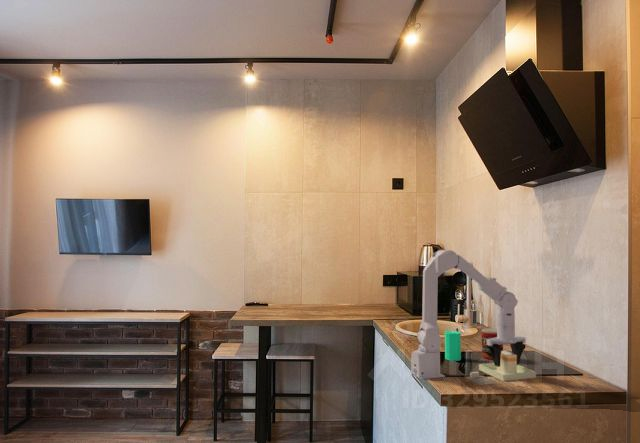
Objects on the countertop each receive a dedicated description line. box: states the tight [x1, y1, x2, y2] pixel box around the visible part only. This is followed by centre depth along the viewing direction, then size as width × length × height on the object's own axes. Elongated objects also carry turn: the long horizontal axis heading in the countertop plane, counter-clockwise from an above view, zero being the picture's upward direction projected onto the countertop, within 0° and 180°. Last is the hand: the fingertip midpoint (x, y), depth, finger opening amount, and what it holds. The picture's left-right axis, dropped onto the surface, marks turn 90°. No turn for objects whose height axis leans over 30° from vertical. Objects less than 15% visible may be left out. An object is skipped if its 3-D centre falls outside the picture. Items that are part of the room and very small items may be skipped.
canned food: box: [481, 327, 504, 361], centre depth 178 cm, size 8×8×11 cm
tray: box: [478, 362, 537, 382], centre depth 155 cm, size 13×13×2 cm
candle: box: [444, 328, 462, 362], centre depth 176 cm, size 6×6×12 cm
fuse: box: [497, 350, 517, 374], centre depth 155 cm, size 4×6×7 cm, turn 16°
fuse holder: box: [464, 371, 500, 387], centre depth 147 cm, size 7×9×2 cm
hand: (506, 365), depth 155 cm, fingers open, 7 cm apart
